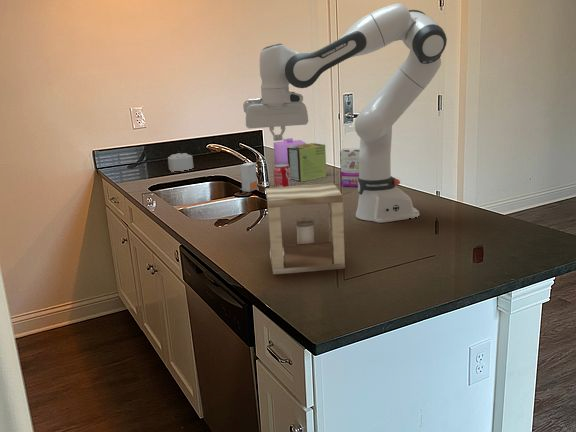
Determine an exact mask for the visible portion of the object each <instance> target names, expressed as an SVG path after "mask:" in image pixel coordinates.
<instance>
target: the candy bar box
mask: <svg viewBox="0 0 576 432" xmlns="http://www.w3.org/2000/svg"><path fill="white" fill-rule="evenodd" d="M359 150H360V148H341V149H340V150H339V161H340V162H339V163H340V187H341V186H343V187H345V188H358V178H359Z"/></svg>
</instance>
